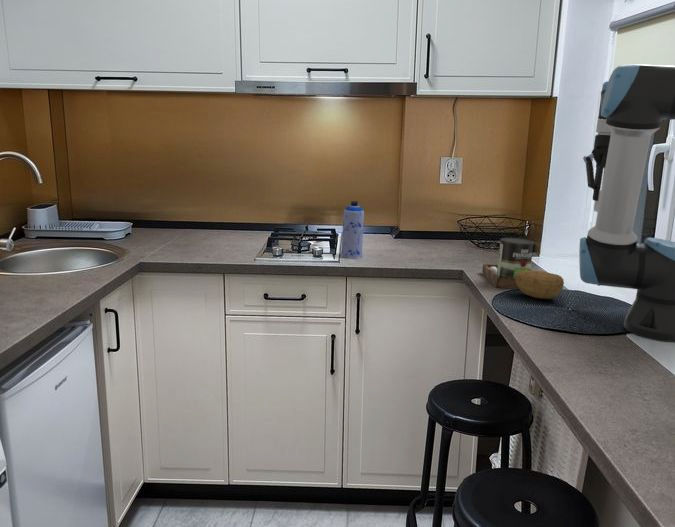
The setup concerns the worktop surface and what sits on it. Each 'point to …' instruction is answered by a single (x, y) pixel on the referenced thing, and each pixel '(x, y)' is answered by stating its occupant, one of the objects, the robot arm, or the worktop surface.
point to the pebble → (494, 269)
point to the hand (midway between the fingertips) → (597, 211)
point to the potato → (539, 284)
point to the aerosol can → (352, 231)
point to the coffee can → (514, 257)
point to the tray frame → (496, 280)
